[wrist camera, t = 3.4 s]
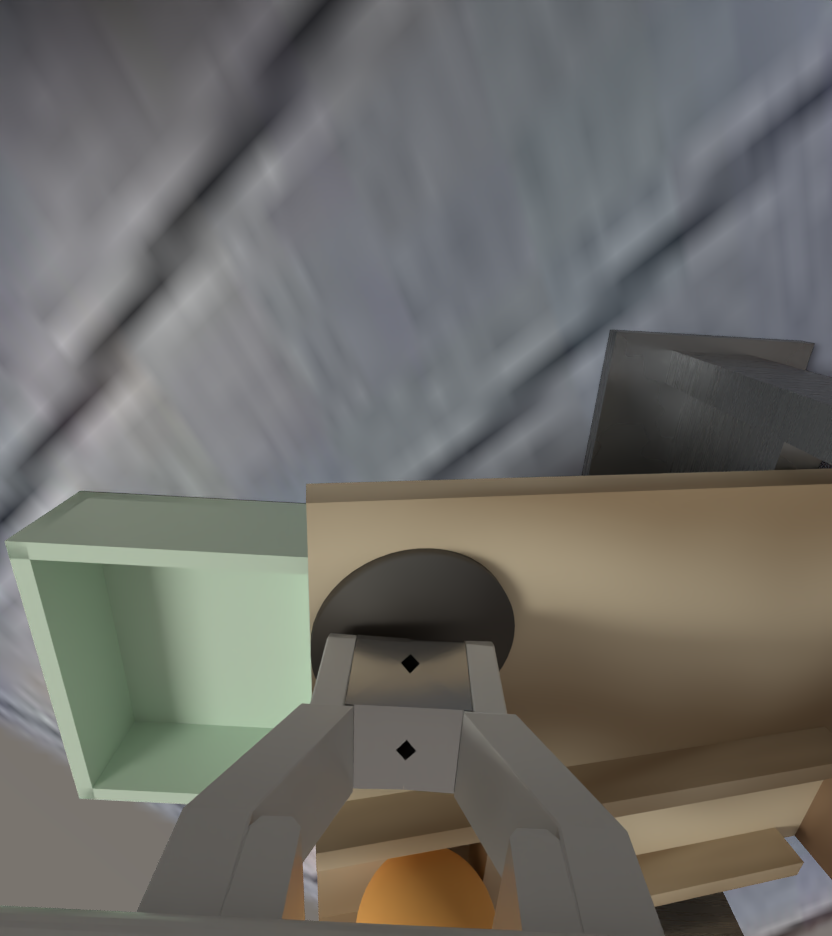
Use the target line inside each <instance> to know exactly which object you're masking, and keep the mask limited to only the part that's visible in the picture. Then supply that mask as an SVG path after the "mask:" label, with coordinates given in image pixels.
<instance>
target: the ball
mask: <svg viewBox="0 0 832 936" xmlns="http://www.w3.org/2000/svg"><path fill="white" fill-rule="evenodd" d="M494 916H495V909H494V906H493V903H492V900H491V898H490V895H489V893H488V890H487V888H486V886H485V885H484V883H483V881H482V879H481V878H480V877H479V875H478V874H477V872H476V871H475V870H474V868H473V867H472V866H471V865H470V864H469V863H468V862H467V861H466V860H465V859H463V858H462V857H461V856H460V855H458V854H456V853H455V852H453V851H451V850H449V849H447V848H445V849H440V850H434V851H429V852H423V853H418V854H412V855H407V856H401V857H396V858H390V859H387V860H386V861H385V862H384V863H383V864H382V865H381V866H380V868H379V869H378V870H377V871H376V872H375V874H374V875H373V877H372V879H371V880H370V882H369V884H368V886H367V888H366V890H365V892H364V894H363V897H362V900H361V903H360V906H359V910H358V914H357V920H356V923H372V924H393V925H414V926H436V927H457V928H478V929H492V926H493V921H494Z"/></svg>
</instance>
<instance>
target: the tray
mask: <svg viewBox="0 0 832 936" xmlns="http://www.w3.org/2000/svg"><path fill="white" fill-rule="evenodd" d="M5 544H6V548H7V551H8V555H9V558H10V561H11V565H12V568H13V572H14V575H15V579H16V582H17V585H18V589H19V592H20V596H21V599H22V603H23V606H24V610H25V613H26V616H27V620H28V623H29V627H30V630H31V634H32V637H33V641H34V644H35V647H36V651H37V654H38V658H39V661H40V665H41V668H42V672H43V675H44V678H45V682H46V685H47V689H48V692H49V696H50V699H51V703H52V706H53V709H54V713H55V716H56V720H57V723H58V727H59V730H60V733H61V737H62V740H63V744H64V747H65V751H66V754H67V758H68V761H69V764H70V768H71V771H72V775H73V778H74V781H75V784H76V789H77V792H78V795H79V798H80V799H97V800H116V801H136V802H156V803H176V804H188V803H189V802H190V801H192V800H193V799H194V798H195V797H196V796H197V795H198V794H200V793H201V792H202V791H203V790H204V789H205V788H206V787H207V786H209V785H210V784H211V783H212V782H213V781H214V780H215V779H217V778H218V777H219V776H220V775H221V774H222V773H223V772H224V771H226V770H227V769H228V768H229V767H230V766H231V765H232V764H233V763H235V762H236V761H237V760H238V759H239V758H240V757H241V756H243V755H244V754H245V753H246V752H247V751H248V750H249V749H250V748H252V747H253V746H254V745H255V744H256V743H257V742H258V741H259V740H261V739H262V738H263V737H264V736H265V735H266V734H267V733H269V732H270V731H271V730H272V729H273V728H274V727H275V726H276V725H278V724H279V723H280V722H281V721H282V720H283V719H284V718H285V717H287V716H288V715H289V714H290V713H291V712H292V711H293V710H295V709H296V708H297V707H298V706H299V705H300V704H301V703H305V704H310V702H311V698H312V677H311V644H310V611H309V578H308V545H307V513H306V504H301V503H283V502H265V501H247V500H229V499H211V498H192V497H174V496H156V495H138V494H120V493H102V492H84V491H79V492H78V493H76V494H75V495H73V496H72V497H70V498H69V499H67V500H66V501H64V502H63V503H61V504H60V505H58V506H57V507H55V508H54V509H52V510H51V511H49V512H48V513H46V514H45V515H43V516H42V517H40V518H39V519H37V520H36V521H34V522H33V523H31V524H30V525H28V526H27V527H25V528H23V529H22V530H20V531H19V532H17V533H16V534H14V535H13V536H11V537H10V538H8V539H7V540H5Z"/></svg>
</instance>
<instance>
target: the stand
mask: <svg viewBox="0 0 832 936" xmlns="http://www.w3.org/2000/svg"><path fill="white" fill-rule="evenodd" d="M813 347H814V343H809V342H805V341H797V340H779V339H762V338H745V337H728V336H711V335H694V334H677V333H660V332H642V331H625V330H610V333H609V338H608V343H607V348H606V354H605V359H604V364H603V369H602V374H601V379H600V384H599V390H598V395H597V400H596V405H595V410H594V415H593V420H592V426H591V431H590V436H589V441H588V446H587V451H586V456H585V462H584V467H583V472H582V476H594V475H628V474H662V473H696V472H731V471H765V470H799V469H819V466H820V464H821V461H824V462H826V463H828V464H830V465H832V378H831V377H828V376H824V375H821V374H817V373H813V372H810V371H806V367H807V364H808V361H809V358H810V355H811V353H812V350H813ZM655 909H656V912H657V915H658V918H659V920H660V923H661V926H662V929H663V931H664V934H665V936H744V935H743V933H742V931H741V929H740V927H739V925H738V923H737V920H736V918H735V916H734V914H733V912H732V910H731V908H730V906H729V904H728V902H727V900H726V897H725V895H724V893H723V892H718V893H714V894H710V895H705V896H701V897H696V898H692V899H687V900H683V901H678V902H674V903H670V904H665V905H661V906H656V907H655Z"/></svg>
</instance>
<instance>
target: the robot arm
mask: <svg viewBox="0 0 832 936" xmlns="http://www.w3.org/2000/svg"><path fill="white" fill-rule="evenodd" d="M353 789H400V790H403V789H404V790H414V791H427V792H439V793H452V794H454V797H455V799H456V801H457V803H458V804H459V806H460V808H461V809H462V811H463V813H464V815H465V816H466V818H467V820H468V821H469V823H470V825H471V826H472V828H473V830H474V832H475V833H476V835H477V837H478V838H479V840H480V842H481V844H482V845H483V847H484V849H485V850H486V852H487V854H488V856H489V857H490V859H491V861H492V862H493V864H494V866H495V868H496V869H497V871H498V873H499V874H500V876H501V878H502V880H501V885H500V890H499V895H498V900H497V905H496V910H495V916H494V921H493V926H492V929H478V928H457V927H436V926H414V925H393V924H372V923H351V922H330V921H309V920H305V909H304V886H303V861H304V860H305V859H306V857H307V856H308V854H309V853H310V852H311V850H312V849H313V847H314V846H315V844H316V843H317V842H318V840H319V839H320V837H321V836H322V835H323V833H324V832H325V830H326V829H327V828H328V826H329V825H330V823H331V822H332V821H333V819H334V818H335V816H336V815H337V813H338V812H339V811H340V809H341V808H342V806H343V805H344V804H345V802H346V801H347V799H348V798H349V797H350V795H351V794H352V792H353ZM0 936H665V934H664V931H663V929H662V926H661V923H660V920H659V918H658V915H657V912H656V909H655V907H654V904H653V901H652V898H651V895H650V893H649V890H648V887H647V884H646V882H645V879H644V876H643V873H642V871H641V868H640V865H639V862H638V859H637V857H636V854H635V851H634V848H633V846H632V843H631V840H630V837H629V835H628V832H627V830H626V829H625V828H624V827H623V826H622V825H621V824H620V823H619V822H618V821H617V820H616V819H615V818H614V817H613V816H612V815H611V814H610V813H609V812H608V810H607V809H606V808H605V807H604V806H603V805H602V804H601V803H600V802H599V801H598V800H597V799H596V798H595V797H594V796H593V795H592V794H591V793H590V792H589V791H588V790H587V788H586V787H585V786H584V785H583V784H582V783H581V782H580V781H579V780H578V779H577V778H576V777H575V776H574V775H573V774H572V773H571V772H570V771H569V770H568V769H567V767H566V766H565V765H564V764H563V763H562V762H561V761H560V760H559V759H558V758H557V757H556V756H555V755H554V754H553V753H552V752H551V751H550V750H549V749H548V748H547V746H546V745H545V744H544V743H543V742H542V741H541V740H540V739H539V738H538V737H537V736H536V735H535V734H534V733H533V732H532V731H531V730H530V729H529V728H528V727H527V726H526V724H525V723H524V722H523V721H522V720H521V719H520V718H519V717H518V716H517V715H516V714H507V710H506V704H505V699H504V694H503V689H502V684H501V678H500V673H499V668H498V663H497V658H496V652H495V647H494V645H493V643H492V642H489V641H464V642H463V641H447V640H425V639H407V638H394V637H381V636H368V635H358V636H357V635H348V634H335V633H330V635H329V636H328V638H327V640H326V644H325V648H324V652H323V656H322V660H321V663H320V667H319V671H318V675H317V679H316V683H315V687H314V690H313V694H312V698H311V702H310V704H305V703H301V704H300V705H299V706H298V707H297V708H296V709H295V710H293V711H292V712H291V713H290V714H289V715H288V716H287V717H285V718H284V719H283V720H282V721H281V722H280V723H279V724H278V725H276V726H275V727H274V728H273V729H272V730H271V731H270V732H269V733H267V734H266V735H265V736H264V737H263V738H262V739H261V740H259V741H258V742H257V743H256V744H255V745H254V746H253V747H252V748H250V749H249V750H248V751H247V752H246V753H245V754H244V755H243V756H241V757H240V758H239V759H238V760H237V761H236V762H235V763H233V764H232V765H231V766H230V767H229V768H228V769H227V770H226V771H224V772H223V773H222V774H221V775H220V776H219V777H218V778H217V779H215V780H214V781H213V782H212V783H211V784H210V785H209V786H207V787H206V788H205V789H204V790H203V791H202V792H201V793H200V794H198V795H197V796H196V797H195V798H194V799H193V800H192V801H190V802H189V803H188V804H187V805H186V806H185V807H184V808H183V810H182V812H181V814H180V816H179V818H178V821H177V823H176V825H175V827H174V830H173V832H172V834H171V836H170V839H169V841H168V843H167V845H166V848H165V850H164V852H163V855H162V856H161V859H160V861H159V863H158V865H157V868H156V870H155V872H154V874H153V877H152V879H151V881H150V883H149V886H148V888H147V890H146V892H145V894H144V897H143V899H142V901H141V903H140V906H139V908H138V910H137V912H120V911H101V910H80V909H59V908H38V907H18V906H0Z"/></svg>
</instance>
